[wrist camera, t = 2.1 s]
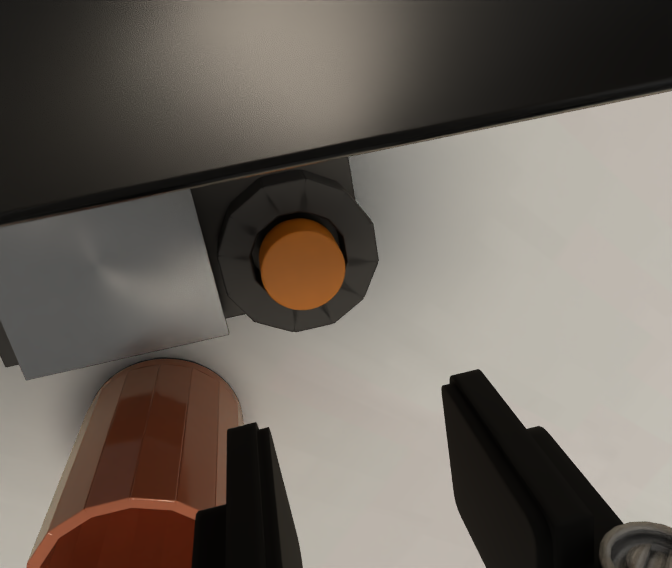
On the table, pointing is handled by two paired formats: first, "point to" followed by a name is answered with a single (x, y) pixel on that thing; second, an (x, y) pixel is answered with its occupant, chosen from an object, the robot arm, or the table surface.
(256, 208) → the base
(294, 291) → the power button
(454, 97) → the coffee maker
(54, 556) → the cup
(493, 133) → the table surface
